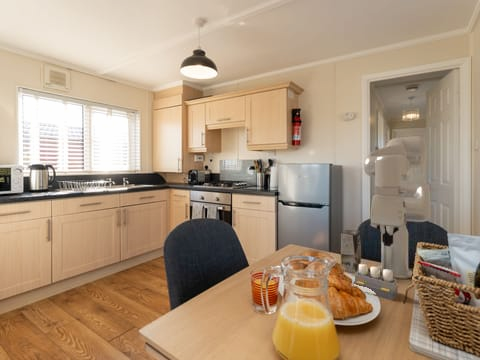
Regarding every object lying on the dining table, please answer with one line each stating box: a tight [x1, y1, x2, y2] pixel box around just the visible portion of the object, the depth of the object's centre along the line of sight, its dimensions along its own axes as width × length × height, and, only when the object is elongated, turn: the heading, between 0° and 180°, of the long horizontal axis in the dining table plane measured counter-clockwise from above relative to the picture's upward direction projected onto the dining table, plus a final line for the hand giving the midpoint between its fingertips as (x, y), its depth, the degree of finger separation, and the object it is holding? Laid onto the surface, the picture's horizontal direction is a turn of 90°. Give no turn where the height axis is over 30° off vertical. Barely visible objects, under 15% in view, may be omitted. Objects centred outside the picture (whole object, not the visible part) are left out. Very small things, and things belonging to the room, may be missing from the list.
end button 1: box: [382, 269, 394, 283], centre depth 88 cm, size 3×3×4 cm
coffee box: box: [340, 229, 362, 274], centre depth 112 cm, size 9×6×16 cm
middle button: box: [369, 266, 381, 280], centre depth 91 cm, size 3×3×4 cm
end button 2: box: [358, 263, 369, 276], centre depth 94 cm, size 3×3×4 cm
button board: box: [353, 270, 399, 301], centre depth 91 cm, size 7×12×5 cm, turn 46°
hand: (387, 245), depth 88 cm, fingers closed
